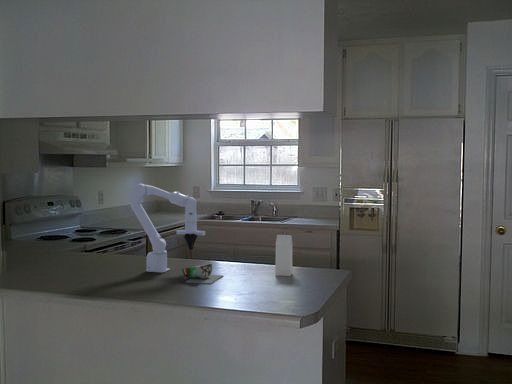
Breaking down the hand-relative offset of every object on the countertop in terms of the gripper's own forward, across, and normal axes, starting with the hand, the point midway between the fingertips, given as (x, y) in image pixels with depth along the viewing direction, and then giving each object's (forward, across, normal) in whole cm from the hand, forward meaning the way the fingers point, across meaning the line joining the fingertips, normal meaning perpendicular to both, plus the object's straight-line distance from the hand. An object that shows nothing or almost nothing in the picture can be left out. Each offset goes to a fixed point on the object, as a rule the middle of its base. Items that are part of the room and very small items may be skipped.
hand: (191, 249), depth 262 cm
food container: (+9, +5, -16) cm, 19 cm away
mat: (+10, +14, -16) cm, 24 cm away
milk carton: (+11, +46, +5) cm, 47 cm away
